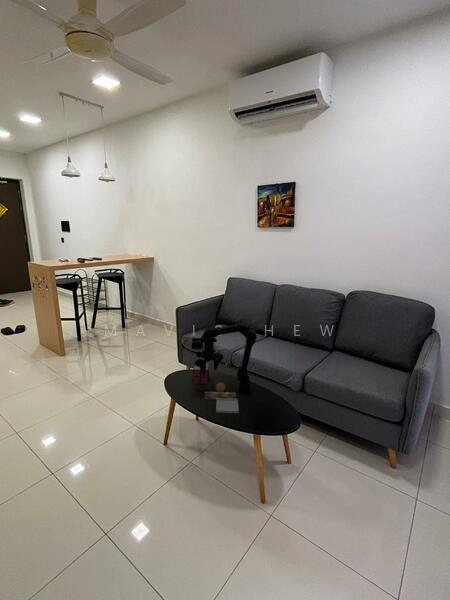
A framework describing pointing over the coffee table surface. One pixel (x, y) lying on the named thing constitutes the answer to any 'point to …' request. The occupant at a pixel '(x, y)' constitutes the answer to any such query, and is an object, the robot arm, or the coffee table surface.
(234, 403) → the coaster tray
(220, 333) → the robot arm
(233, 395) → the rail
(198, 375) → the puzzle cube
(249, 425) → the coffee table surface
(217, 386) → the ball
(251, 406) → the coffee table surface
